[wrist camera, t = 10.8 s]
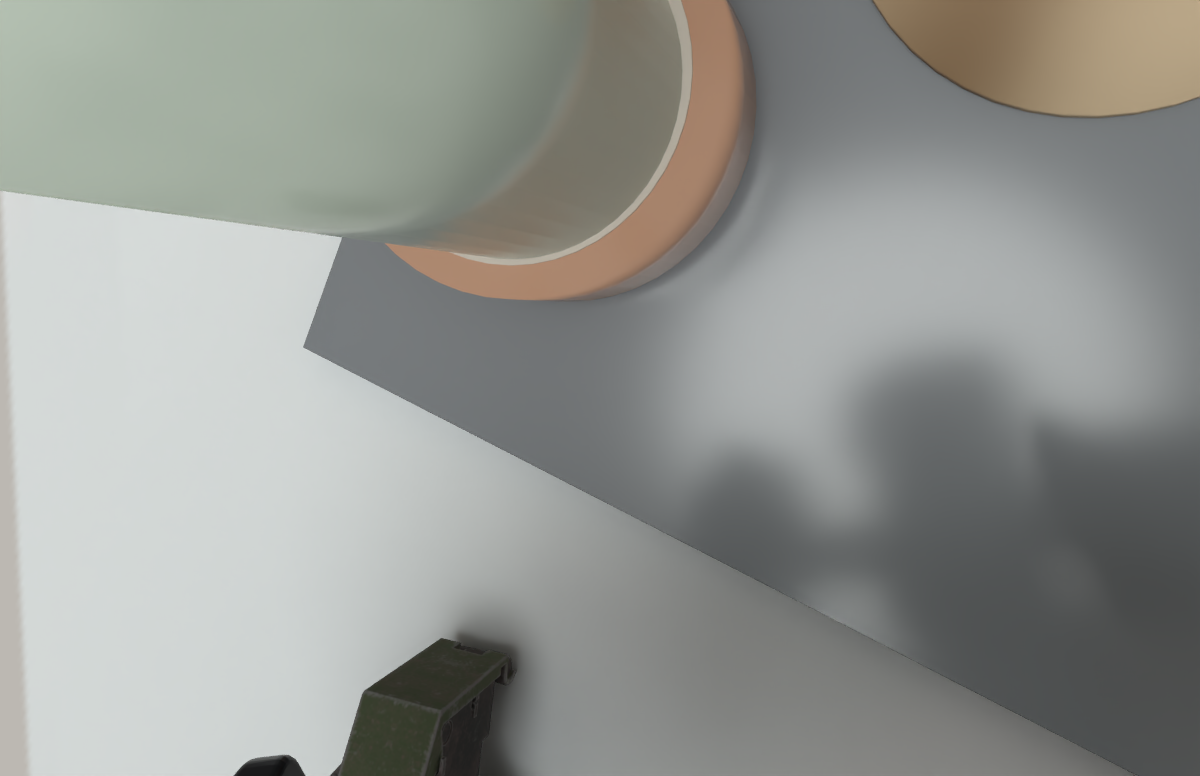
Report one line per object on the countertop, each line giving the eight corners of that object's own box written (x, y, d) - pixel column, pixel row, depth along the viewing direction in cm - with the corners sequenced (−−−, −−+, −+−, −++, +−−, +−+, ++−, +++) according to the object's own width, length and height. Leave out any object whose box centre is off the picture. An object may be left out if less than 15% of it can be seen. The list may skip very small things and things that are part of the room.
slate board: (2173, -200, 14) (2229, -222, 13) (1426, 912, 17) (1444, 934, 17) (634, -532, 19) (626, -557, 19) (318, 346, 23) (303, 347, 22)
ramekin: (821, -7, 19) (805, -69, 16) (662, 360, 20) (619, 368, 17) (481, -125, 20) (407, -200, 17) (357, 219, 22) (270, 203, 19)
